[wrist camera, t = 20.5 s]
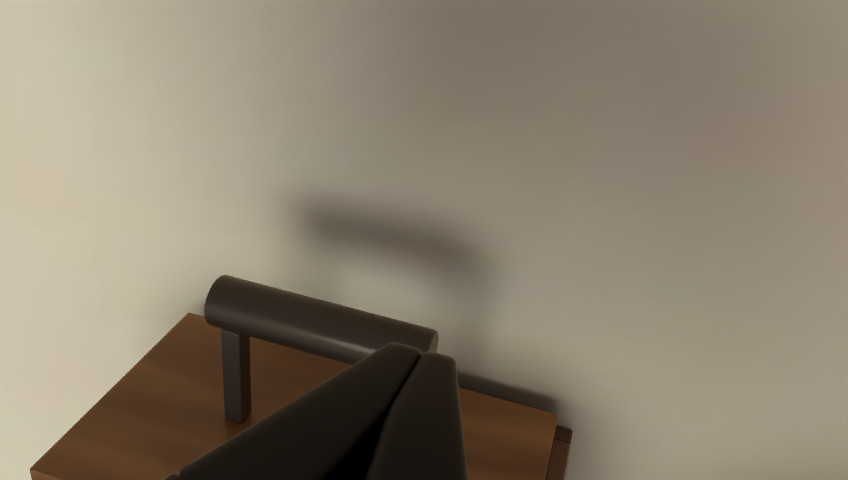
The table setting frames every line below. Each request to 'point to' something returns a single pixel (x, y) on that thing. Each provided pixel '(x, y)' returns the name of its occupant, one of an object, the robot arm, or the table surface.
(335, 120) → the table surface
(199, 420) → the drawer
